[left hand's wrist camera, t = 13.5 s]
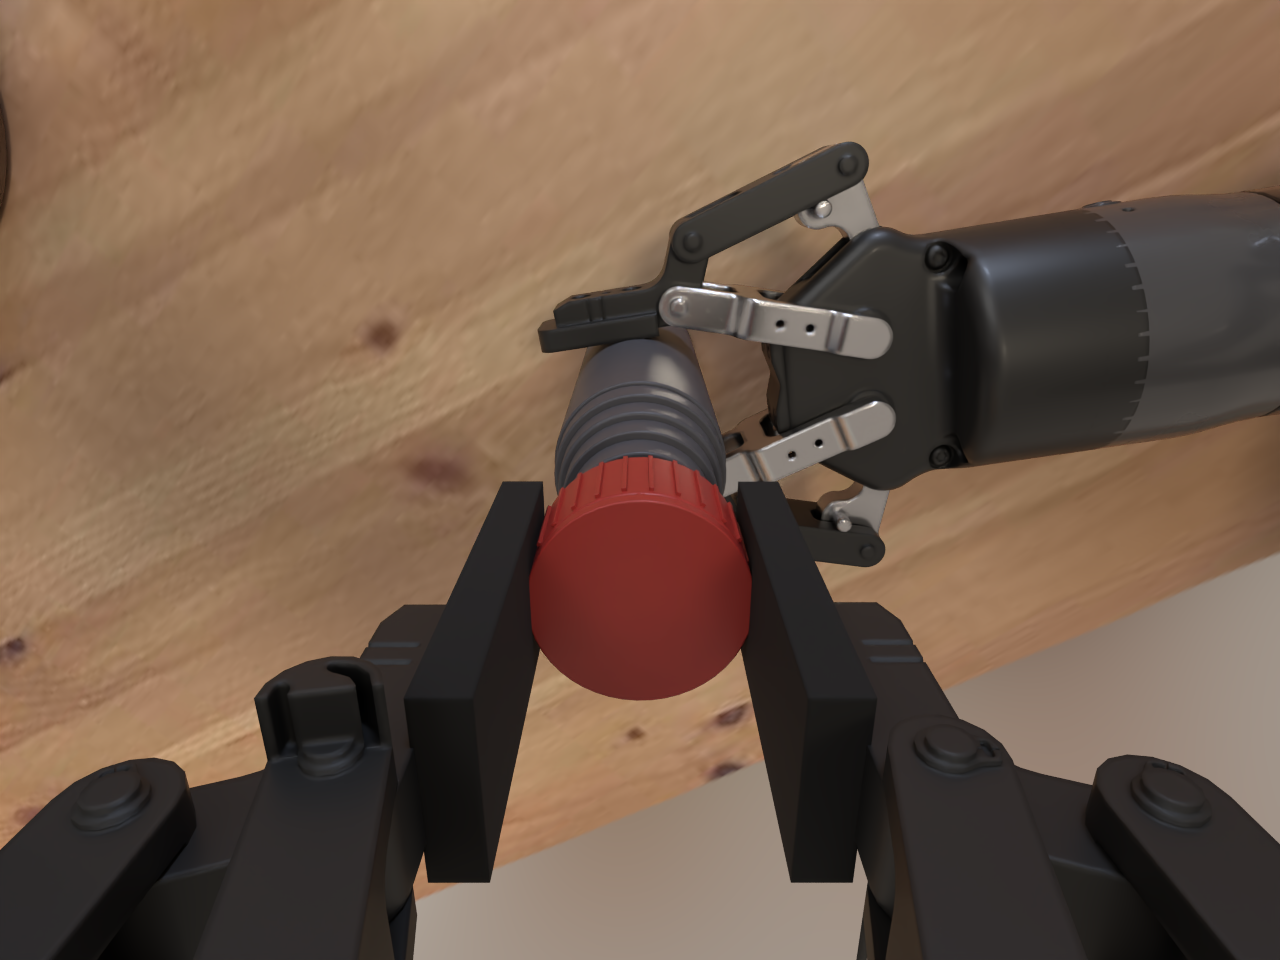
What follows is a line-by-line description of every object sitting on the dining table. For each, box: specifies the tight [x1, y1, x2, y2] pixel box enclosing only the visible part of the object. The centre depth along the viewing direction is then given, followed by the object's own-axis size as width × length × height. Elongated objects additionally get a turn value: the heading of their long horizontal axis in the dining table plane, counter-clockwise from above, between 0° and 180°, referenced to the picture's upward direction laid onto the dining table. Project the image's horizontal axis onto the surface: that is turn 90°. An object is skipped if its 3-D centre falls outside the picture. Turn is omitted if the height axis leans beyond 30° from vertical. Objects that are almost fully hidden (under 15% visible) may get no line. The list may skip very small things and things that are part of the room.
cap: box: [529, 455, 752, 700], centre depth 14 cm, size 4×4×2 cm
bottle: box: [555, 326, 726, 496], centre depth 22 cm, size 4×4×20 cm
